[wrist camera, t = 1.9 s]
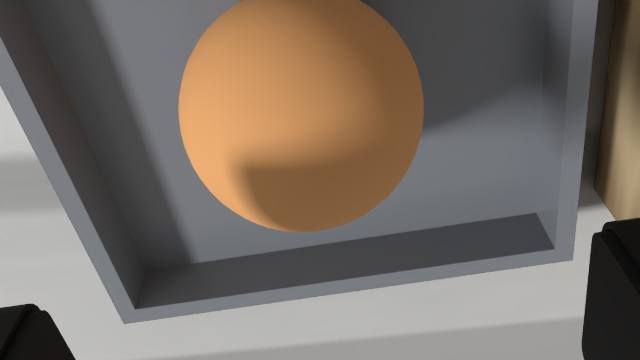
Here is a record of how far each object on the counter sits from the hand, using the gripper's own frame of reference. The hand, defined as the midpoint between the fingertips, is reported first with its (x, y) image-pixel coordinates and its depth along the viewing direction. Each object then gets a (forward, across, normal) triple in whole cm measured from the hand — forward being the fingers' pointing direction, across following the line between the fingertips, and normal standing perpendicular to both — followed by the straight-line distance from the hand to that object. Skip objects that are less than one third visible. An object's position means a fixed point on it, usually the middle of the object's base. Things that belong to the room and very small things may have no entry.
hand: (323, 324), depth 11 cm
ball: (+9, 0, -1) cm, 9 cm away
